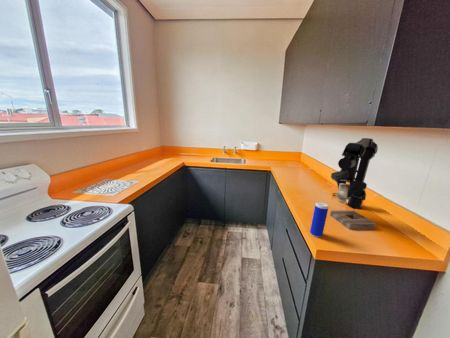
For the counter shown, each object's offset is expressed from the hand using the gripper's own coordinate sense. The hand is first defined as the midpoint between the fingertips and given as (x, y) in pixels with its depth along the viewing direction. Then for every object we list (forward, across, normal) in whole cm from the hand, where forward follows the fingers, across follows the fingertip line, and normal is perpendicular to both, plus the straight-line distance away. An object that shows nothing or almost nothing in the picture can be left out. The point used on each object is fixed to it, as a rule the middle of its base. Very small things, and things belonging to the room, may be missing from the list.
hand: (343, 195), depth 98 cm
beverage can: (+13, +17, -24) cm, 32 cm away
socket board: (+13, +5, +3) cm, 14 cm away
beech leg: (+4, 0, 0) cm, 4 cm away
